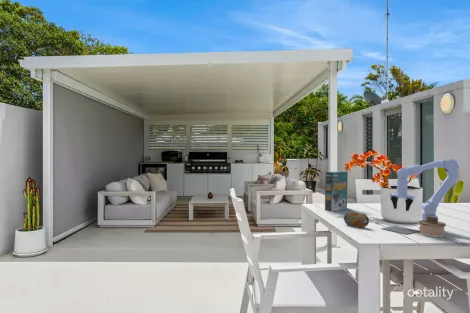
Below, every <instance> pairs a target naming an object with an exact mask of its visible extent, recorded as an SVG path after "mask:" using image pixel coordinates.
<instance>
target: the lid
mask: <svg viewBox="0 0 470 313" xmlns="http://www.w3.org/2000/svg"><path fill="white" fill-rule="evenodd" d="M437 217H438V216H437ZM437 217H431V216H429V217H427V218H426V220H422V219H421V220H418V224H419V225H420V224H422V225H427V226H434V227H444V228H445V227H446V225H447V224H446V223H445V222H442V221H439V217H438V218H437Z"/></svg>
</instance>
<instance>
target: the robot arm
mask: <svg viewBox="0 0 470 313" xmlns="http://www.w3.org/2000/svg"><path fill="white" fill-rule="evenodd" d="M434 168H442V169H444V170H445V173H446V175H447V176H446V177H445V179H444V180H443V181H442V183H440V186H439V187H437V189H436V190H435V192H434V193H433V194H432V196H431V197H430V198H429V199H427V201H425V202H424V203H423V204H422V205H421V209H422V211H423V212H421V220H426V218H427V217H429V216H431V217H437V218H438V219H439V217H438V215H437V214H436V213H437V209H438V207H439V204H440V202H441V201H442V200H443V198H444V197H445V196H446V195H447V193H448V192H449V191H450V189H451V188H452V187H453V186H454V185H455V183H456V182H457V180H458V179H459V168H460V165H459V163H458V161H457V160H455V159H452V158H446V159H440V160H435V161H432V162H428V163H425V164H422V165H420V164H418V163H417V164H416V163H414V164H412V165H410V166H404V167H403V168H402V167H401V168H400V169H398V170H397V171H396V175H397V181H396V193H389V197H390V201H391V203H392V206H393V210H397V209H398V201H399V199H404V201H405V212H409V211H410V209H411V206H412V204H413V202H414V200H415V196H413V195H408V177H411V176H415V175H419V174H422V172H423V171H427V170H430V169H434ZM418 229H420V226H419V227H418Z"/></svg>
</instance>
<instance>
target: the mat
mask: <svg viewBox="0 0 470 313" xmlns="http://www.w3.org/2000/svg"><path fill="white" fill-rule="evenodd" d="M381 230H383V231H389V232H393V233H398V234H401V235H407V236H408V235H411V234H415V233H419V232H420V229H419V230H417V229H413V228H408V227H404V226H399V225H392V226H386V227H383V228H381ZM420 233H421V232H420Z"/></svg>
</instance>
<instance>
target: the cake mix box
mask: <svg viewBox="0 0 470 313" xmlns="http://www.w3.org/2000/svg"><path fill="white" fill-rule="evenodd" d="M348 172H349V171H342V170H341V171H339V170H337V171H325V181H324V182H325V186H324V187H325V189H324V192H325V193H324V210H325V211H331V212H333V211H338V210H345V209H348V179H349V177H348V174H349V173H348Z"/></svg>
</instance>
